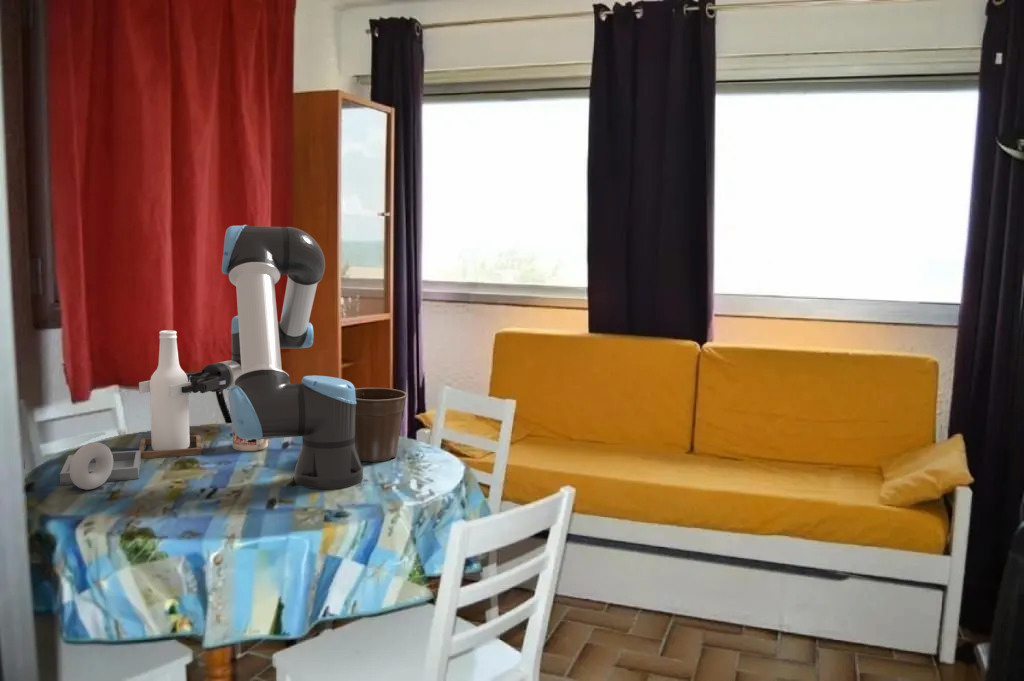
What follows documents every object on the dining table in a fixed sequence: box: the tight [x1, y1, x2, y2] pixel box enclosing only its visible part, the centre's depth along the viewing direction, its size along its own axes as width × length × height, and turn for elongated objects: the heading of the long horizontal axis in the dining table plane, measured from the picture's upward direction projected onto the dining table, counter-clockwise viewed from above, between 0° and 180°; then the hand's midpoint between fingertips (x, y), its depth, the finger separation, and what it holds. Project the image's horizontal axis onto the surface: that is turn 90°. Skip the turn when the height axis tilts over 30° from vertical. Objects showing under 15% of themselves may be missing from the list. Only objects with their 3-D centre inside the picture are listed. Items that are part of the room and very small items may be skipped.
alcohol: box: [149, 329, 191, 451], centre depth 194 cm, size 9×9×30 cm
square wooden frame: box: [139, 434, 203, 460], centre depth 196 cm, size 14×14×2 cm
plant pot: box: [355, 387, 408, 463], centre depth 195 cm, size 16×16×16 cm
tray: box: [59, 450, 142, 486], centre depth 175 cm, size 15×15×2 cm
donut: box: [69, 441, 113, 491], centre depth 164 cm, size 10×4×10 cm, turn 161°
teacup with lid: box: [231, 424, 274, 452], centre depth 199 cm, size 12×9×12 cm
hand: (154, 389), depth 189 cm, fingers closed on alcohol, 9 cm apart
